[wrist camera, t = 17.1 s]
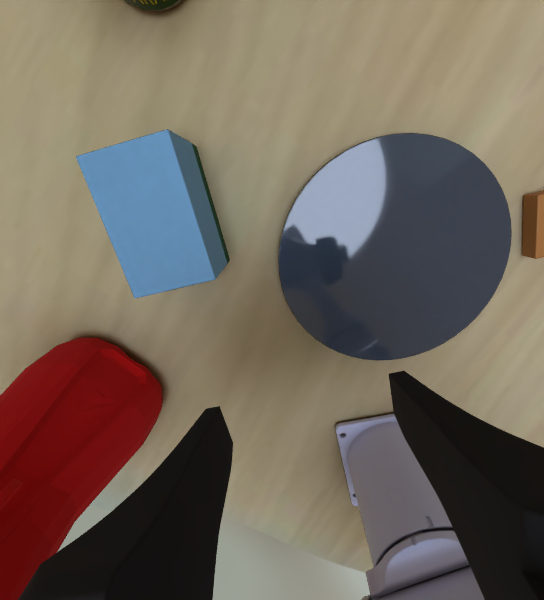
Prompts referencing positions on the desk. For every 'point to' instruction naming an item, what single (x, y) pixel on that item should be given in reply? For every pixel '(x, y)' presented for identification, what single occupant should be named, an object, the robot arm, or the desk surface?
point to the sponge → (157, 211)
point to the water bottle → (65, 446)
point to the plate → (394, 246)
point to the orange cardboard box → (533, 225)
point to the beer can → (154, 4)
